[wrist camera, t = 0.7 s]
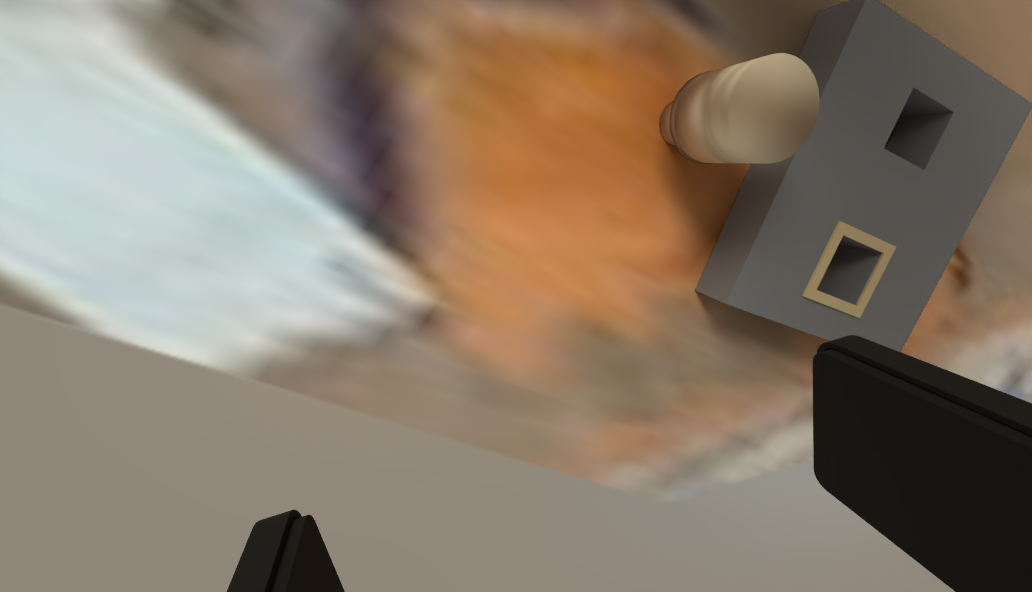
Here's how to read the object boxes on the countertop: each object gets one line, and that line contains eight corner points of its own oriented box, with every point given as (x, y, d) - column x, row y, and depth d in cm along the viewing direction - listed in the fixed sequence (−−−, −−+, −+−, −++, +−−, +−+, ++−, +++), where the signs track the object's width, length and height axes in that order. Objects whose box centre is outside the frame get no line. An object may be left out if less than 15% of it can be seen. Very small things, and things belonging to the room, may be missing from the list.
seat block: (818, 11, 35) (871, -8, 31) (975, 109, 41) (1036, 104, 37) (695, 290, 39) (727, 304, 35) (852, 346, 44) (896, 364, 40)
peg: (662, 66, 34) (757, 32, 25) (726, 99, 35) (837, 79, 26) (631, 146, 35) (711, 141, 26) (695, 174, 36) (790, 179, 27)
